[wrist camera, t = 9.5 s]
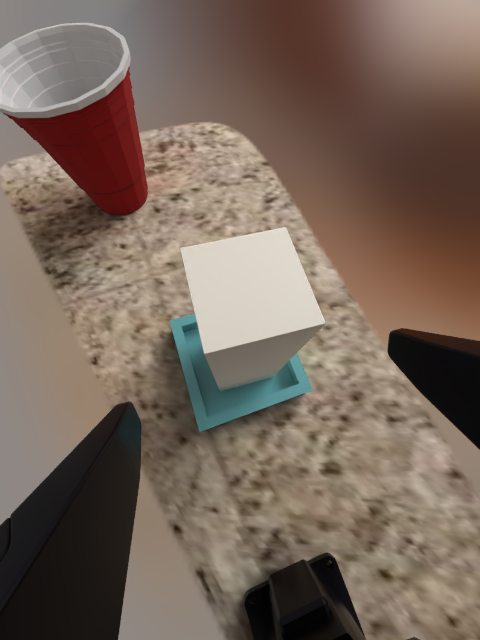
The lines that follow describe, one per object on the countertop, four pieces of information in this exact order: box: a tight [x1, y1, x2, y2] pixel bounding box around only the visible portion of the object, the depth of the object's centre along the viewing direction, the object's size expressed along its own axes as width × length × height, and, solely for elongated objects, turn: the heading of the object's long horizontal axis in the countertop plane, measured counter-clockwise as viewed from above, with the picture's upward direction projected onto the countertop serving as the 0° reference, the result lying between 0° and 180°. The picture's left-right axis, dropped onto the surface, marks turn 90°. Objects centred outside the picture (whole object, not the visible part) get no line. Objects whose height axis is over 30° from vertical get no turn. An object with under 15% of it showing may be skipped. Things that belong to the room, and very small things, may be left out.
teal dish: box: [170, 313, 313, 432], centre depth 22 cm, size 9×9×2 cm
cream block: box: [181, 227, 325, 392], centre depth 16 cm, size 4×4×13 cm
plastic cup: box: [0, 23, 148, 215], centre depth 23 cm, size 11×11×12 cm
